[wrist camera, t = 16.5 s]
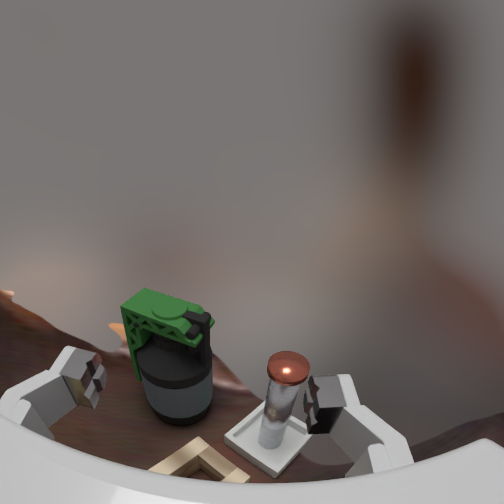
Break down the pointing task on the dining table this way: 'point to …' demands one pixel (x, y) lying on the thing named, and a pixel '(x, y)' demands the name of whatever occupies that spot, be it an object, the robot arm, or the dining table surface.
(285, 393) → the pin
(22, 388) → the robot arm
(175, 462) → the block
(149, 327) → the grenade
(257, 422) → the tray
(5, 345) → the dining table surface
